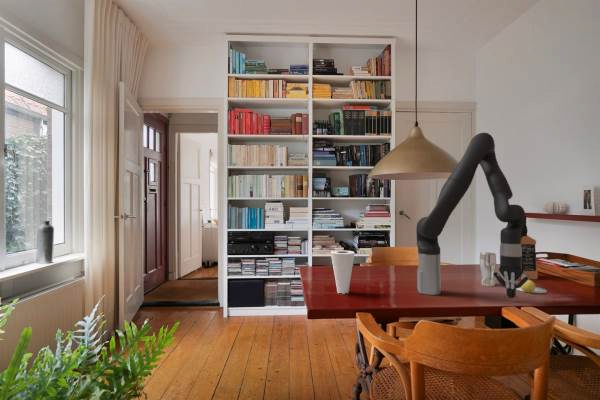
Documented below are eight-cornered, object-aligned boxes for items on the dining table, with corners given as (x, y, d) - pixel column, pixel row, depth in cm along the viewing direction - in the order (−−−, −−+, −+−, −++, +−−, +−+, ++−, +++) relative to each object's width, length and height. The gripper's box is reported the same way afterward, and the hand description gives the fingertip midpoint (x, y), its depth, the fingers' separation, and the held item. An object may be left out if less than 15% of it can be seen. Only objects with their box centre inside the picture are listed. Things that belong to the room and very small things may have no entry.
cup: (336, 296, 147) (335, 254, 147) (327, 290, 157) (327, 251, 157) (359, 294, 149) (358, 253, 149) (349, 288, 160) (348, 249, 160)
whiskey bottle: (507, 275, 185) (506, 215, 185) (526, 274, 185) (525, 215, 185) (519, 279, 175) (518, 216, 175) (538, 279, 174) (538, 216, 174)
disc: (523, 292, 150) (523, 292, 150) (510, 286, 162) (510, 285, 162) (553, 293, 148) (553, 293, 148) (537, 286, 160) (537, 286, 160)
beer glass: (479, 285, 164) (479, 253, 164) (479, 282, 170) (479, 251, 170) (496, 287, 160) (496, 254, 160) (496, 283, 166) (495, 252, 166)
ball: (525, 277, 149) (530, 276, 152) (515, 285, 152) (520, 283, 155) (535, 288, 146) (540, 286, 149) (525, 295, 149) (530, 294, 152)
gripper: (532, 255, 135) (533, 299, 135) (496, 251, 145) (496, 292, 145) (526, 257, 130) (527, 303, 130) (489, 253, 140) (489, 296, 140)
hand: (511, 297), depth 138 cm, fingers closed
